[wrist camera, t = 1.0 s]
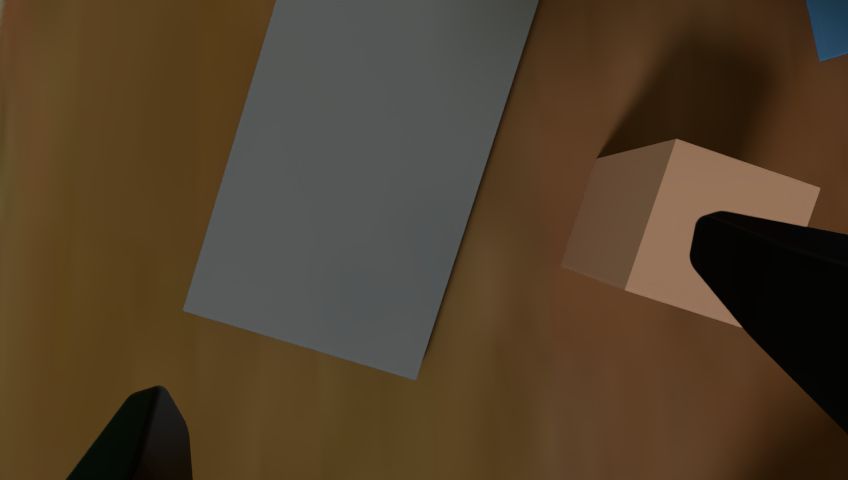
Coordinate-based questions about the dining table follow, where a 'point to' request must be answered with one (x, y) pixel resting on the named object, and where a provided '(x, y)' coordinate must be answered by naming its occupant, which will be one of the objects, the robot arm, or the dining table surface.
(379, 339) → the slate board
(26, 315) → the dining table surface
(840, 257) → the robot arm
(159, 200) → the dining table surface
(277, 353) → the dining table surface
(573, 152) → the dining table surface
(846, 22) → the perfume bottle
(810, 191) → the tan rectangular block
